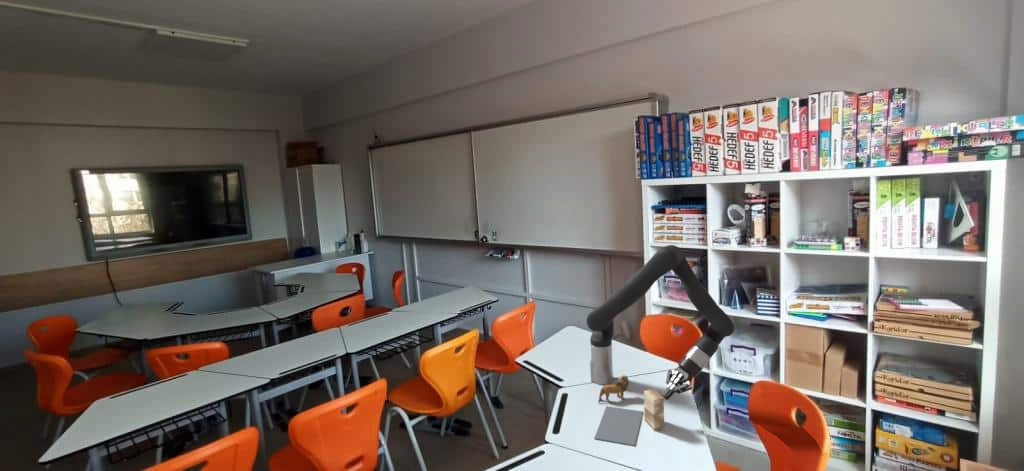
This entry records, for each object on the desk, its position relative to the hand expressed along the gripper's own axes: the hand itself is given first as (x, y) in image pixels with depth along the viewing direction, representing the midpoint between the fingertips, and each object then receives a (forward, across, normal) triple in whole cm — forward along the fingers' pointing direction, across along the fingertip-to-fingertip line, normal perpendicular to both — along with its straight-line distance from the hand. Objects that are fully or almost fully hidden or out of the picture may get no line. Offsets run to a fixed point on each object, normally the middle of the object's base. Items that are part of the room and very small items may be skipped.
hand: (664, 397), depth 169 cm
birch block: (+10, 0, +4) cm, 11 cm away
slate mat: (+19, -4, -5) cm, 20 cm away
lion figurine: (+14, -22, 0) cm, 26 cm away
